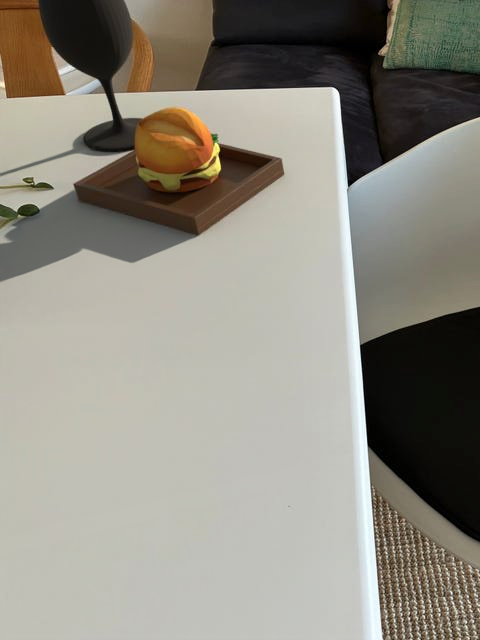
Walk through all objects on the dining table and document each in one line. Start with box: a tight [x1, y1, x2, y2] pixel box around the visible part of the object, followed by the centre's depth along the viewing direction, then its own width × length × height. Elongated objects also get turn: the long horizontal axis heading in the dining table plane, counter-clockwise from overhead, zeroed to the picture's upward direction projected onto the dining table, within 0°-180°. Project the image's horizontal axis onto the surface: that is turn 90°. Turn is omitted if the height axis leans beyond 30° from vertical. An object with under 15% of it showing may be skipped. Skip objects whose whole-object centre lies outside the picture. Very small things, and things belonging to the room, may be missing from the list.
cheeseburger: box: [134, 106, 221, 192], centre depth 95 cm, size 10×11×10 cm
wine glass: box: [37, 0, 144, 153], centre depth 103 cm, size 10×10×20 cm
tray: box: [72, 142, 285, 236], centre depth 97 cm, size 19×17×2 cm
